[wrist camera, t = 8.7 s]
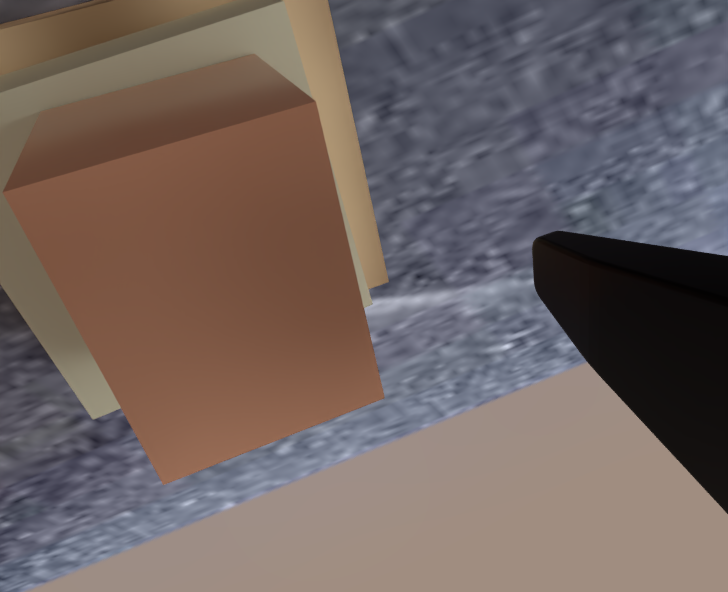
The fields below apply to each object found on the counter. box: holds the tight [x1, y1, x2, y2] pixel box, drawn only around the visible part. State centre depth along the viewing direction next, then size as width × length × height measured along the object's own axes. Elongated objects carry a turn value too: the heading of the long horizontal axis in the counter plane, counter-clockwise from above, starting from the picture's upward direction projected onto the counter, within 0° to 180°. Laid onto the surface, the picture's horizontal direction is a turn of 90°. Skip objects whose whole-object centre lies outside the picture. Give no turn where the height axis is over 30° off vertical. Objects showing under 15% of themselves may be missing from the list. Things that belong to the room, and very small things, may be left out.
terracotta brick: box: [3, 54, 385, 485], centre depth 12 cm, size 4×6×5 cm
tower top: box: [0, 0, 372, 419], centre depth 16 cm, size 8×8×3 cm
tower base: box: [0, 0, 389, 289], centre depth 19 cm, size 10×10×3 cm
